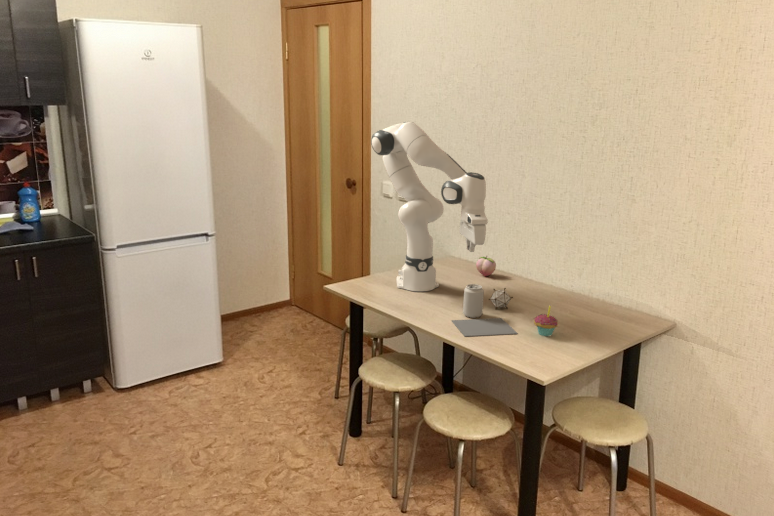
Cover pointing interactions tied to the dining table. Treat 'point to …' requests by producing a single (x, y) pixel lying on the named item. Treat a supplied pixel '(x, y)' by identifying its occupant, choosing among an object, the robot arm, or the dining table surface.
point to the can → (473, 300)
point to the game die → (500, 298)
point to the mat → (483, 327)
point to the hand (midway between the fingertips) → (470, 250)
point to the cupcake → (546, 323)
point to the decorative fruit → (486, 266)
